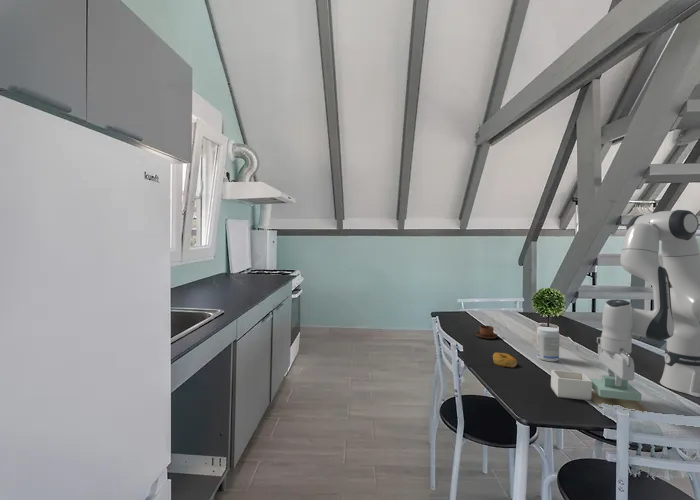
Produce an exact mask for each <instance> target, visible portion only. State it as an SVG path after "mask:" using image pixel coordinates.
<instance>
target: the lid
mask: <svg viewBox="0 0 700 500" xmlns="http://www.w3.org/2000/svg"><path fill="white" fill-rule="evenodd" d="M615 377H616V376H608V375H606V374H605V375H604V374H601V379H598V378H589V377H588V378H589V379H590V380H591V381H592V391H595V392H596V393H597V394H598V395H599V396H600V397H607V398H616V399H625V400H634V401H638V402H642V394H643V393H641V392H639V390H637V389H636V388H635V387H634V386H633V385H631V384H630V383H629V382H628V381H629V380H622V382H621V386H616V385H615V384H614V380H615Z"/></svg>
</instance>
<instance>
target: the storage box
mask: <svg viewBox="0 0 700 500" xmlns="http://www.w3.org/2000/svg"><path fill="white" fill-rule="evenodd" d="M550 372H551V373H550V389H551V390H552V391H553V392H554V394H555V396H557V398H564V399H573V400H574V399H575V400H582V401H592V399H591V395H592V391H593V389H592V381H591V380H590V379H591V378H590V379H589V377H588V376H587V375H586V374H585V373H584V372H581V371H571V370H570V371H569V370H568V371H567V370H561V369H560V370H559V369H551V370H550Z"/></svg>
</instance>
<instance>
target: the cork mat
mask: <svg viewBox="0 0 700 500" xmlns="http://www.w3.org/2000/svg"><path fill="white" fill-rule="evenodd" d="M591 401H593V403H596V404H602V403H604V404H608V405H612V406H613V405H620V406H622V407H624V408H628V409H635V410H639V411H647V412H650V410H649V409H647V408H646V407H644V405H642V403H640V401H634V400H625V399H616V398H607V397H600V396H599V395H598V394H597V393H596V392H595V391H594V390H592V395H591ZM596 404H595V405H596Z"/></svg>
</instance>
